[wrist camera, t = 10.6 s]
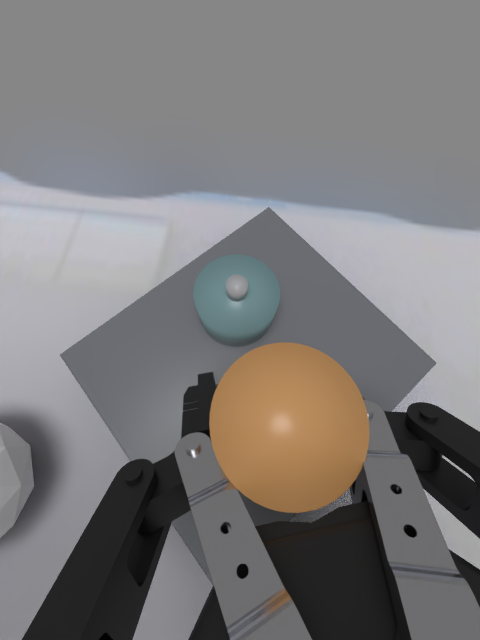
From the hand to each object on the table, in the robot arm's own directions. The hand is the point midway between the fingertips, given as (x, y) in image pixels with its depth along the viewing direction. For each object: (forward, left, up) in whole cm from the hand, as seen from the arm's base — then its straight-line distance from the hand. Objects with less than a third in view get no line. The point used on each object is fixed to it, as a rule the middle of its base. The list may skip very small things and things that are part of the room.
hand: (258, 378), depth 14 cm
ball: (-16, +6, -7) cm, 19 cm away
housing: (+1, +1, -7) cm, 7 cm away
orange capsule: (-1, -2, -4) cm, 5 cm away
